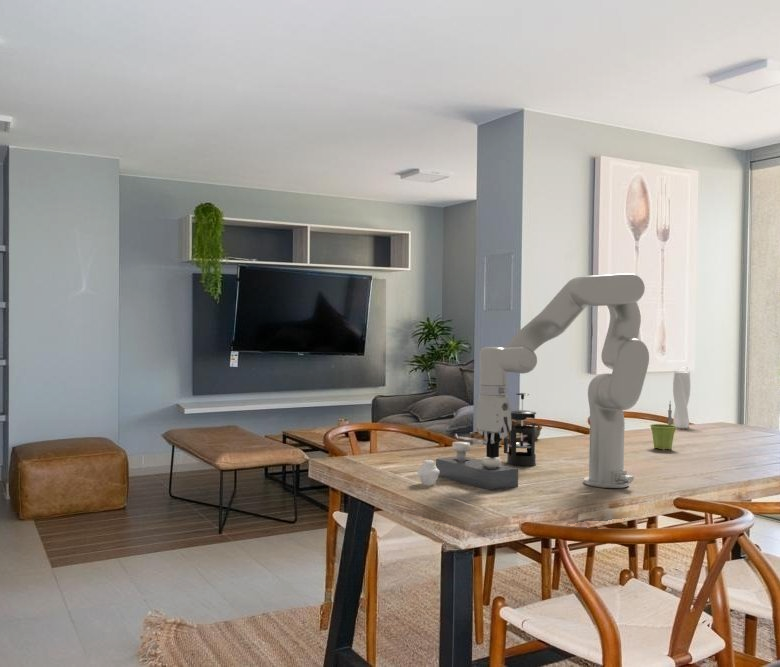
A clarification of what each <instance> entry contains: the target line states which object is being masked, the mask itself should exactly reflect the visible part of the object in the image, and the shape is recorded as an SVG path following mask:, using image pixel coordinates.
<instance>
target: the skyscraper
mask: <svg viewBox="0 0 780 667" xmlns="http://www.w3.org/2000/svg"><path fill="white" fill-rule="evenodd" d="M682 368H684V369H685V370H684V369H682ZM688 368H689V367H688V366H678V367H677V368H676V369H675V370H674V371H673V380H672V381H673V382H672V384H673V385H672V392H673V393H672V394H673V401H674V406H675V408H674V413H673V419H672V412H673V410H672V404H671V400H669V404H668V406H669V407H668V408H669V409H668V410H667V413H668V417H667V425H674V426H677V428H679V429H687V428H690V422H689V412H688V411H689V410H688V404H689V401H690V395H691V372H690V371H689V370H688ZM672 420H673V421H672Z"/></svg>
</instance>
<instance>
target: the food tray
mask: <svg viewBox="0 0 780 667" xmlns="http://www.w3.org/2000/svg"><path fill="white" fill-rule="evenodd" d="M521 422H522V420H513V419H511V426H521ZM523 426H532V427H536V432H535V441H536V440H538V439H539V437H540V435H541V430H542V429H543V425H541V424H539V423H536V422H533V421H529V420H526V419H525V420H523ZM478 431H479V429H478V428H477V426H476V431H471V432H469V437H467V436H466V437H464V436H458V434H457V433H455V434H454V439H462V440H465V441H473V442H476V443H481V444H482V445H484V444H485V445H486V446H487V443H486V442H485V438H484V436H483V435H481V434H479V432H478ZM520 441H521V433H516V443H520ZM522 441H523V443H525V442H527V433H522ZM502 445H503V446H504V438H502V439H501V442H500V443H499V448H502V447H503V446H502ZM508 445H509V432H508Z"/></svg>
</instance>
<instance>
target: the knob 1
mask: <svg viewBox="0 0 780 667" xmlns="http://www.w3.org/2000/svg"><path fill="white" fill-rule="evenodd" d="M451 448H452V449H451V450H452V451H455V452H456V457H457V461H459V462H463V461H466V457H467V455H466V454H467V453H466V452H470V451H471V443H470V442H468V441H453V442H452V447H451Z"/></svg>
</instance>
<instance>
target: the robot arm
mask: <svg viewBox="0 0 780 667" xmlns="http://www.w3.org/2000/svg"><path fill="white" fill-rule="evenodd" d="M645 289H646V287H645V284H644V281H643V280H642V278H641V277H640V276H639V275H637V274H635V273H631V272H629V273H628V272H626V273H615V274H600V275H583V276H577V277H573V278H572V279H570V280H569V281H568V282H567V283H566V284H564V286H563V287H562V288H561V289H560V290H559V291H558V292H557V293H556V295H554V297H553V298H552V299H551V301H549V303H548V304H547V305H545V307H544V308H543V309H542V310H541V311H540V313H538V314H537V315H536V316H535V317H534V318H532V319H531V320H530V321H529V322H528V323H526V324H525V325H524V326H523V327H522V328H520V330H518V332H516V334H514V336H512V338H511V339H510V340H509V341H508V342H507V343H506V344H505V346H504V347H501V346H485V347H482V348H480V350H479V393H478V394H479V395H478V399H477V404H476V405H477V406H476V417H475V418H476V420H475V421H476V427H477V428H478V429H479V431H478V432H479V434H481V435H483V436H484V438H485V442H486V443H487V445H486V456H485V457H490V458H495V457H499V456H500V447H499V445H500V444H499V443H500V442H501V439H502V438H507V437H508V434H507V432H510V431H511V411H512V410H511V403H510V402H511V401H510V397H509V396H508V390H509V389H508V388H507V387H508V385H507V384H508V382H507V381H508V378H507V376H508V373H515V374H521V375H522V374H528V373H530V372H532V371H533V370H534V369H535V368H536V366H537V365H538V364H537V363H538V357H537V355H536V353H535V351H536V350H537V349H538V348H540V347H541V346H542V345H543V344H545V343H546V342H548V341H551V340H553V339H555V338H556V337H557V338H558V337H559V336H560V335H562V334H563V333H564V332H565V331H567V329H568V328H569V327H570V326H571V325H572V324H573V322H574V321H575V320H576V319H577V318H578V317H579V316H580V314H581V313H582V312H583V311H584V310H585V309H586V308H587V307H602V306H603V307H605V306H607V308H608V311H609V324H608V328H607V332H606V335H605V338H604V340H605V341H604V343H603V346H602V350H601V362H602V363H603V366H605V367H607V368H608V369H609V370H612V372H611V373H601V374H598V375H595V376H594V377H593V378H592V379H591V380H590V382H589V384H588V388H587V401H588V406H589V408H588V409H589V454H588V455H589V456H588V457H589V458H588V459H589V460H588V476H585V477H584V478H582V480H583V483H584V485H587V486H590V487H594V488H605V489H623V488H626V487H629V485H630V484H632V482H633V481H634V480H635V478H634V476H633V475H628V471H627V469H624V463H625V461H624V460H625V458H624V457H625V415H624V411H626V410H630V409H632V408H633V407H634V406H636V404H637V402H638V401H639V399H640V396H641V394H642V390H643V387H644V382H645V379H646V376H647V372H648V368H649V364H650V352H649V349H648V347H647V345H646V344H645V343H644V342H643V340H641V339H639V333H640V328H641V322H642V316H641V311H640V308H639V307H640V306H639V305H638V303H637V302H638V301H640V299H642V297H643V296H644V293H645ZM477 428H476V429H477ZM499 458H500V457H499Z"/></svg>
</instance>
